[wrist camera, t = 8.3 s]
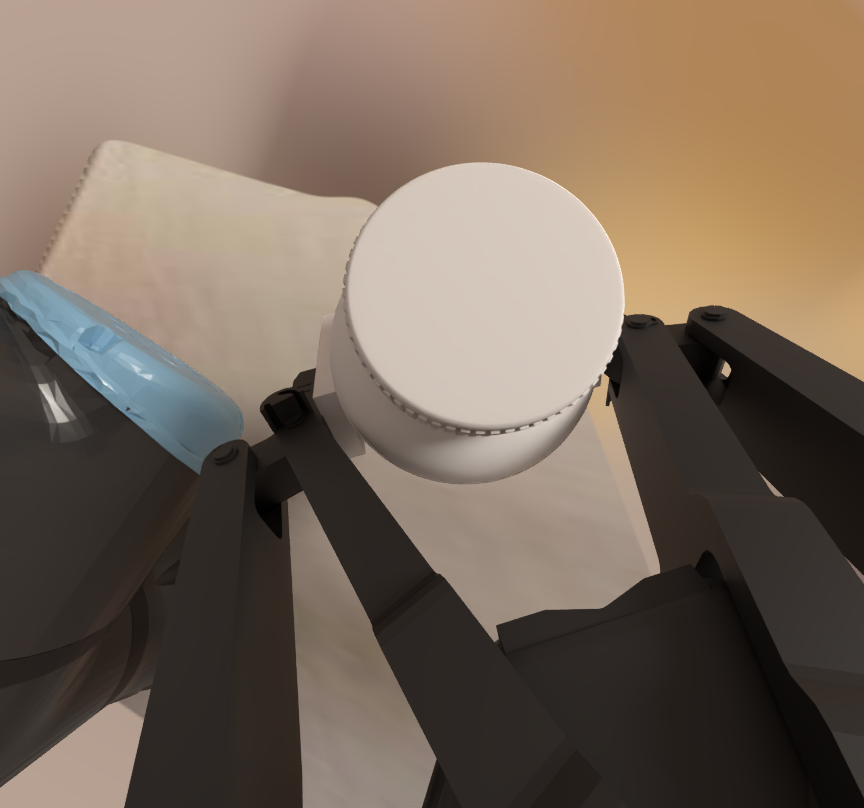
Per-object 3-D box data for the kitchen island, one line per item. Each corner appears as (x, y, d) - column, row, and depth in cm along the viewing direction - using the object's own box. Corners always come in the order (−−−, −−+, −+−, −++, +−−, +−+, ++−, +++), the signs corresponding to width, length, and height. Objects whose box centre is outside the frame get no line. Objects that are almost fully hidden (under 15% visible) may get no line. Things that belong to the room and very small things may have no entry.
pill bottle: (492, 486, 21) (654, 570, 6) (361, 446, 21) (190, 427, 6) (526, 359, 22) (738, 150, 7) (401, 322, 22) (341, 46, 7)
